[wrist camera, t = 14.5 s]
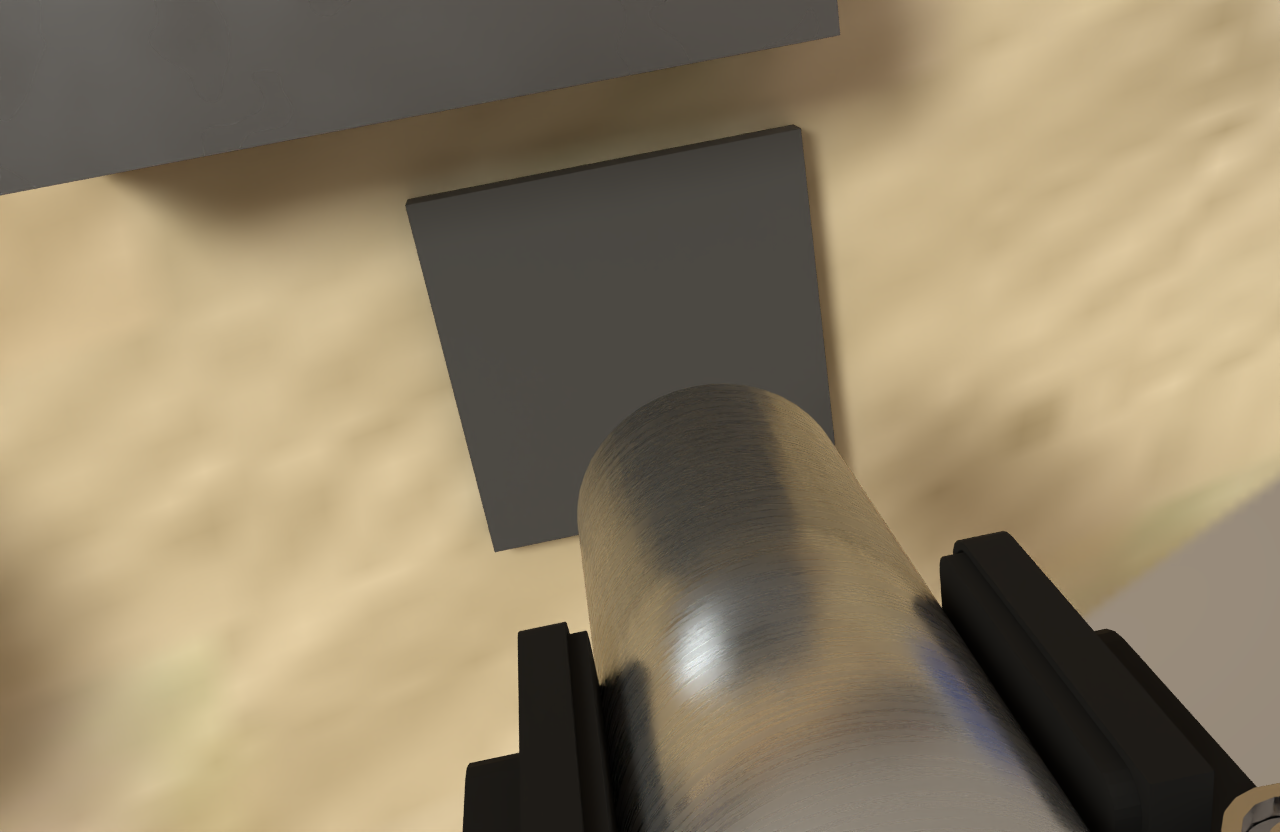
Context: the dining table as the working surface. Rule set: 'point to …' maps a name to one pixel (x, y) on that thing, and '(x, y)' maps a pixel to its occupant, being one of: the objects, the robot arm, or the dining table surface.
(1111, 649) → the robot arm
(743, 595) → the silver copper cylinder
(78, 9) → the block
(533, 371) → the rubber pad
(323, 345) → the dining table surface
